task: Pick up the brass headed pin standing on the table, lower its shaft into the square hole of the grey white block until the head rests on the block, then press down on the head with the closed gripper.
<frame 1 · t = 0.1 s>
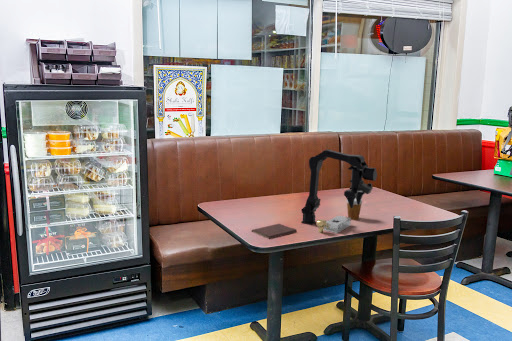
hand: (355, 206, 263), 15 cm above the table, tool pointing down, fingers open, 9 cm apart
disposable coffee cup: (353, 218, 291), on the table
notebook: (274, 233, 263), on the table
brass pin: (320, 232, 264), on the table
grey white block: (337, 227, 272), on the table
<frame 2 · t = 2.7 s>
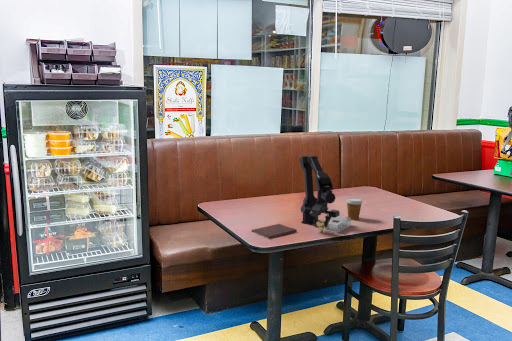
hand: (321, 226, 263), 3 cm above the table, tool pointing down, fingers closed on brass pin, 5 cm apart
brass pin: (320, 232, 264), on the table, touching gripper
everything else where it was.
when the fingers open (6 cm above the table, at t = 7.8 s): brass pin drops 2 cm, resting on grey white block.
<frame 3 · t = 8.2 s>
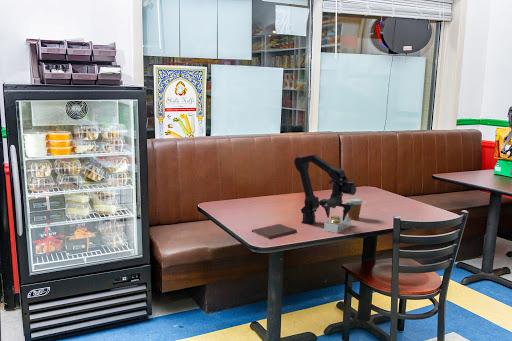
hand: (335, 219, 269), 6 cm above the table, tool pointing down, fingers open, 9 cm apart
brass pin: (335, 228, 270), resting on grey white block
everything else where it was.
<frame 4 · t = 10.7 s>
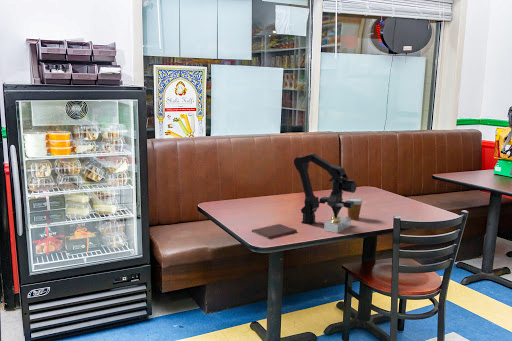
hand: (335, 217, 269), 7 cm above the table, tool pointing down, fingers closed, pressing on brass pin
brass pin: (335, 228, 270), resting on grey white block, touching gripper
everything else where it was.
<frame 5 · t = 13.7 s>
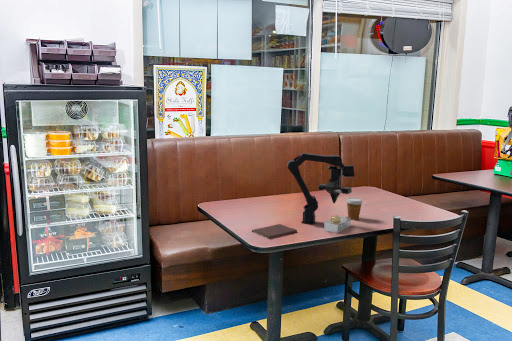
hand: (334, 203, 279), 12 cm above the table, tool pointing down, fingers closed
brass pin: (335, 228, 270), resting on grey white block
everything else where it was.
at the end: brass pin 0.0 cm from the target spot on the grey white block, point 0.5 cm above the grey white block's base; brass pin tilted 0°; the gripper is holding nothing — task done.
